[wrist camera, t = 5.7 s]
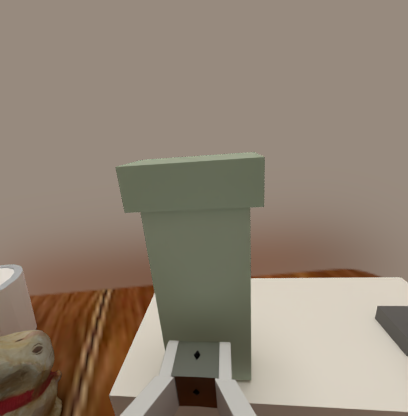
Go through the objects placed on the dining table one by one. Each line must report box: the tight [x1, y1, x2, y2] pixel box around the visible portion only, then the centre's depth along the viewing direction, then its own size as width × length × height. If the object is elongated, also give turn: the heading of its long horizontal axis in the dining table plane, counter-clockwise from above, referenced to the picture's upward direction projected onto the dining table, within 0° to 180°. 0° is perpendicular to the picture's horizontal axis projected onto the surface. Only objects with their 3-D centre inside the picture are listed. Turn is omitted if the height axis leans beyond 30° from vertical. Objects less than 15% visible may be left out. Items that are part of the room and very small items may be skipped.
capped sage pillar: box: [116, 152, 265, 380], centre depth 12 cm, size 6×3×13 cm, turn 85°
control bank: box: [109, 277, 408, 416], centre depth 17 cm, size 24×11×5 cm, turn 85°
